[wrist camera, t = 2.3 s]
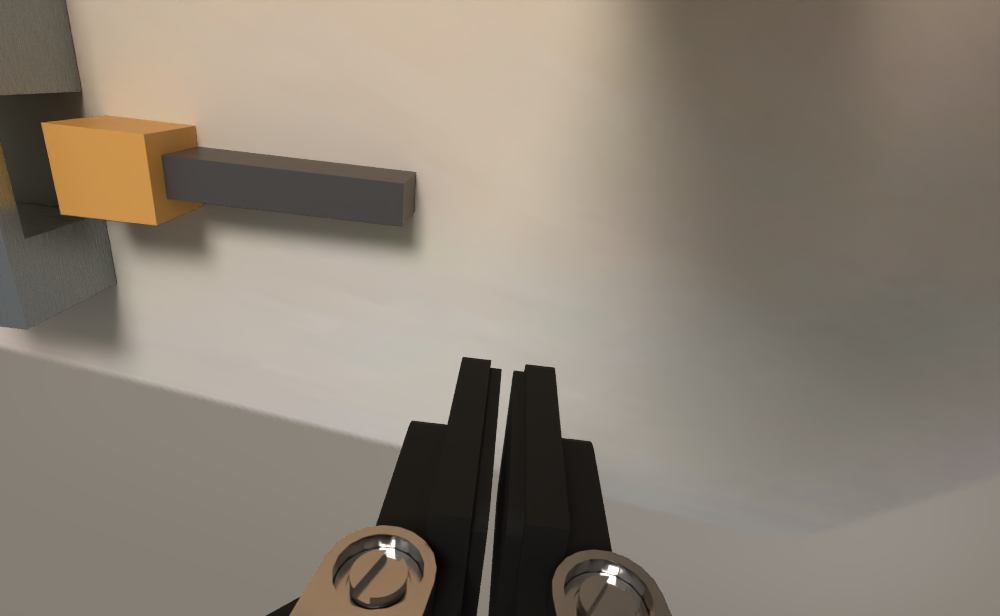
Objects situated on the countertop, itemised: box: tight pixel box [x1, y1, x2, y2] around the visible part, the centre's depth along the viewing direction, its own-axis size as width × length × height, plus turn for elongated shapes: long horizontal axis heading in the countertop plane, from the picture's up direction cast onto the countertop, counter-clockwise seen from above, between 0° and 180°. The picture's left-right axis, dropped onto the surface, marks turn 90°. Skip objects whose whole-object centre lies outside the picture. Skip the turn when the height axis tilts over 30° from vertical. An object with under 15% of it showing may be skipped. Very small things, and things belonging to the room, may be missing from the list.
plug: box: [41, 115, 416, 227], centre depth 26 cm, size 4×17×4 cm, turn 84°
